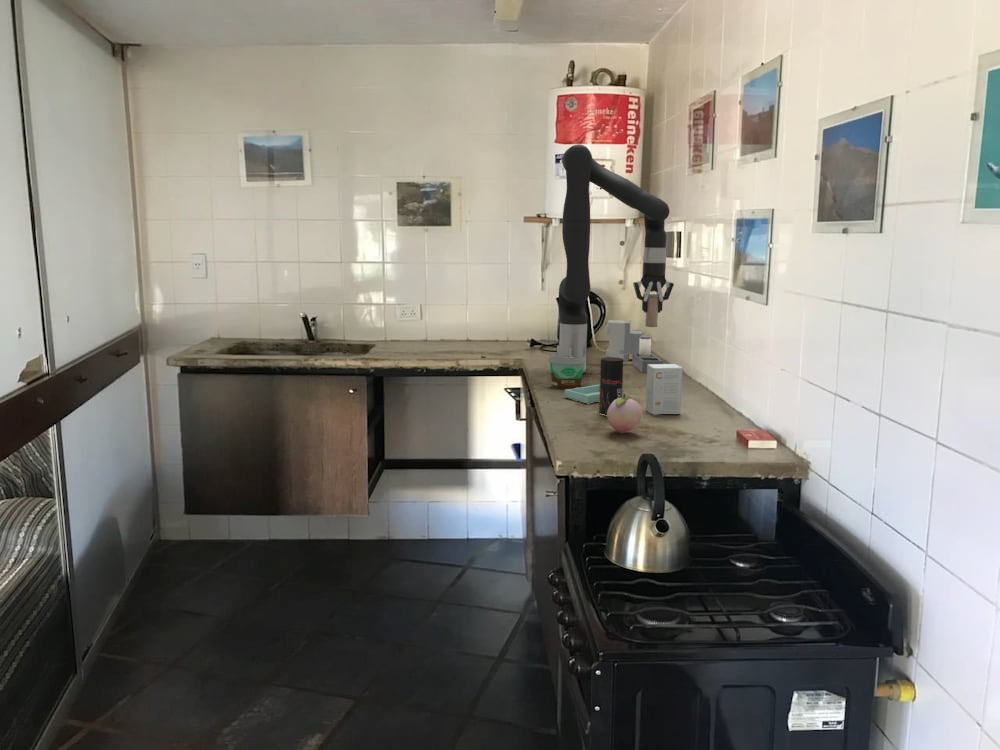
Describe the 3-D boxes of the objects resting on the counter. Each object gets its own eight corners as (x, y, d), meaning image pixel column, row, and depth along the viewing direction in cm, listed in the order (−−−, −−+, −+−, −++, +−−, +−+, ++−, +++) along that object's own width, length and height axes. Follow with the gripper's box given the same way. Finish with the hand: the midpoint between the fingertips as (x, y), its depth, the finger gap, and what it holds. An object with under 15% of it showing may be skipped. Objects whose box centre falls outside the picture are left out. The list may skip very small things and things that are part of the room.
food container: (553, 390, 245) (554, 358, 243) (547, 386, 251) (548, 355, 249) (591, 388, 248) (592, 356, 247) (584, 384, 254) (585, 353, 252)
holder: (662, 375, 271) (663, 341, 269) (641, 375, 271) (643, 341, 269) (651, 367, 287) (652, 334, 285) (631, 367, 287) (633, 334, 284)
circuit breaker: (644, 364, 293) (646, 323, 290) (605, 362, 296) (607, 322, 293) (645, 361, 300) (647, 321, 297) (607, 359, 303) (608, 320, 300)
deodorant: (616, 417, 211) (618, 361, 208) (595, 414, 214) (597, 359, 211) (624, 413, 216) (626, 358, 214) (603, 410, 219) (605, 356, 216)
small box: (673, 409, 221) (675, 363, 218) (680, 415, 215) (683, 367, 212) (644, 410, 220) (646, 363, 218) (651, 415, 214) (653, 367, 211)
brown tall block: (651, 327, 269) (653, 295, 267) (642, 326, 272) (644, 294, 270) (659, 326, 272) (661, 294, 270) (650, 325, 275) (652, 293, 273)
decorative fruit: (638, 440, 189) (640, 399, 187) (604, 437, 191) (605, 396, 190) (642, 430, 198) (644, 391, 196) (609, 428, 200) (611, 389, 198)
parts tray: (587, 404, 226) (588, 395, 226) (564, 398, 234) (564, 389, 234) (622, 398, 235) (623, 390, 234) (599, 392, 243) (599, 384, 242)
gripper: (635, 261, 264) (633, 313, 267) (678, 262, 265) (675, 313, 268) (631, 260, 271) (628, 311, 274) (672, 261, 272) (669, 311, 275)
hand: (652, 312), depth 271 cm, fingers closed on brown tall block, 4 cm apart
